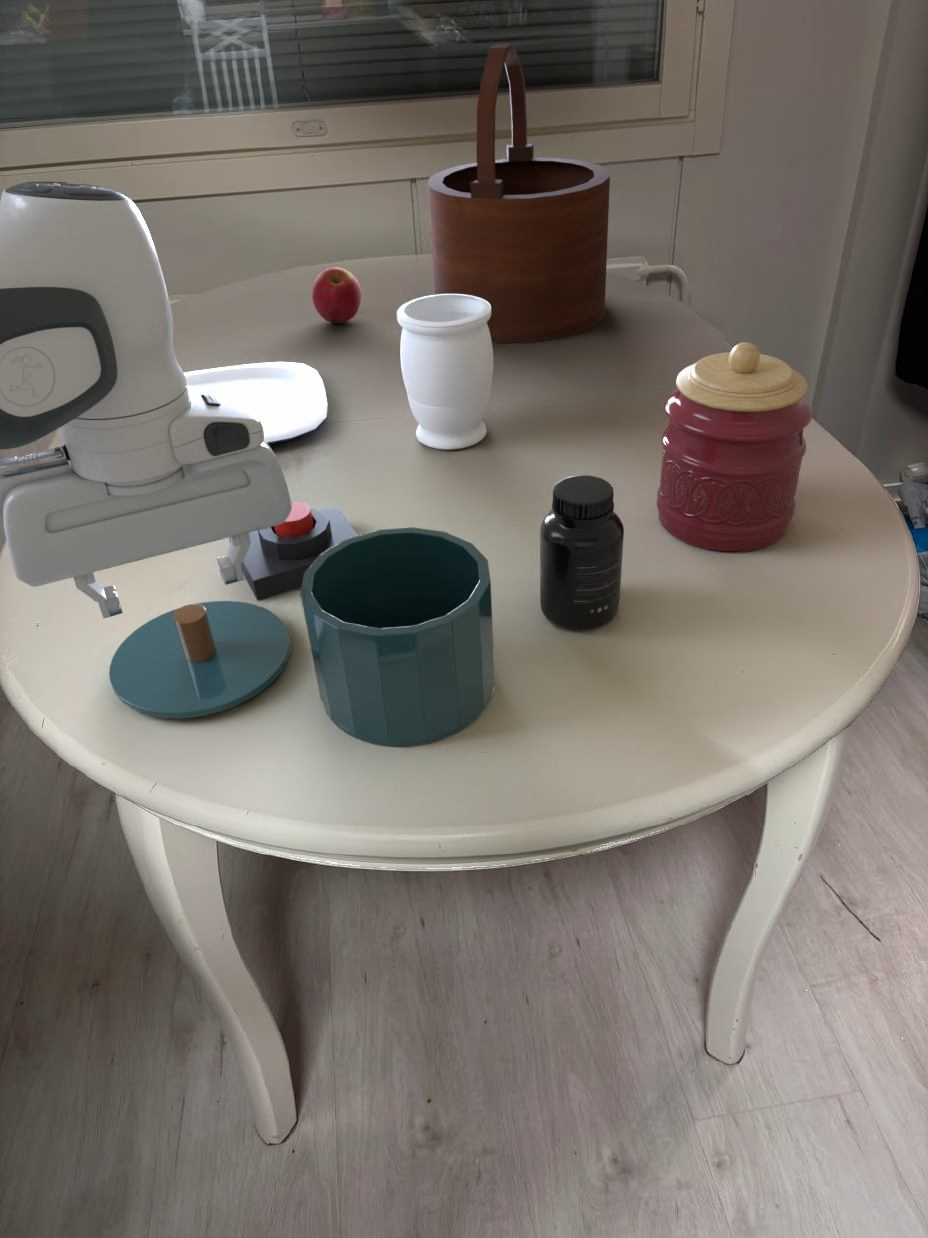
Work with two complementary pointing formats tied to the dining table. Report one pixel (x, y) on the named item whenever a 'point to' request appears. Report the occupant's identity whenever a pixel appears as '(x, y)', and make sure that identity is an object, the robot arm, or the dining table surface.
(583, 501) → the supplement bottle
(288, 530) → the release button
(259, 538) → the box
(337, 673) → the storage jar
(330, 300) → the apple
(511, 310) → the wooden bucket
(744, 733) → the dining table surface
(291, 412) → the plate
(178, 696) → the jar lid
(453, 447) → the jar
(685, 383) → the kitchen canister
